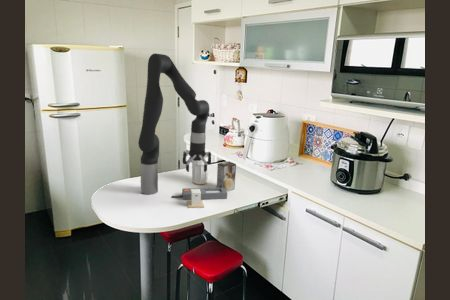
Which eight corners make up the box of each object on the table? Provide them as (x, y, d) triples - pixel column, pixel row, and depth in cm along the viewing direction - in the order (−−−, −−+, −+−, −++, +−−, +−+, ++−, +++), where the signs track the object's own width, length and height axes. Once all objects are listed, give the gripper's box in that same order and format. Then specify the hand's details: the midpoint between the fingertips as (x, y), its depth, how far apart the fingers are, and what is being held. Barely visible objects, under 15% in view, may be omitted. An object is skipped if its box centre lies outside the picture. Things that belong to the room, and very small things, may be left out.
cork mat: (188, 208, 165) (188, 207, 165) (187, 201, 173) (187, 200, 172) (204, 207, 167) (204, 206, 167) (202, 200, 174) (202, 199, 174)
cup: (206, 186, 194) (207, 159, 189) (188, 184, 196) (188, 157, 191) (210, 180, 204) (211, 154, 200) (193, 178, 206) (194, 152, 202)
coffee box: (228, 186, 197) (229, 161, 193) (234, 189, 192) (236, 163, 188) (216, 189, 191) (217, 163, 187) (222, 192, 186) (224, 166, 182)
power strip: (172, 200, 172) (172, 193, 171) (171, 194, 180) (171, 187, 179) (226, 198, 179) (227, 192, 177) (224, 193, 186) (224, 186, 185)
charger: (191, 205, 167) (192, 192, 165) (190, 201, 171) (191, 189, 169) (200, 205, 168) (201, 192, 166) (199, 201, 172) (199, 189, 170)
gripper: (184, 142, 155) (182, 174, 160) (213, 143, 158) (211, 174, 162) (182, 138, 162) (181, 169, 167) (210, 139, 165) (209, 169, 170)
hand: (196, 171), depth 165 cm, fingers open, 8 cm apart
